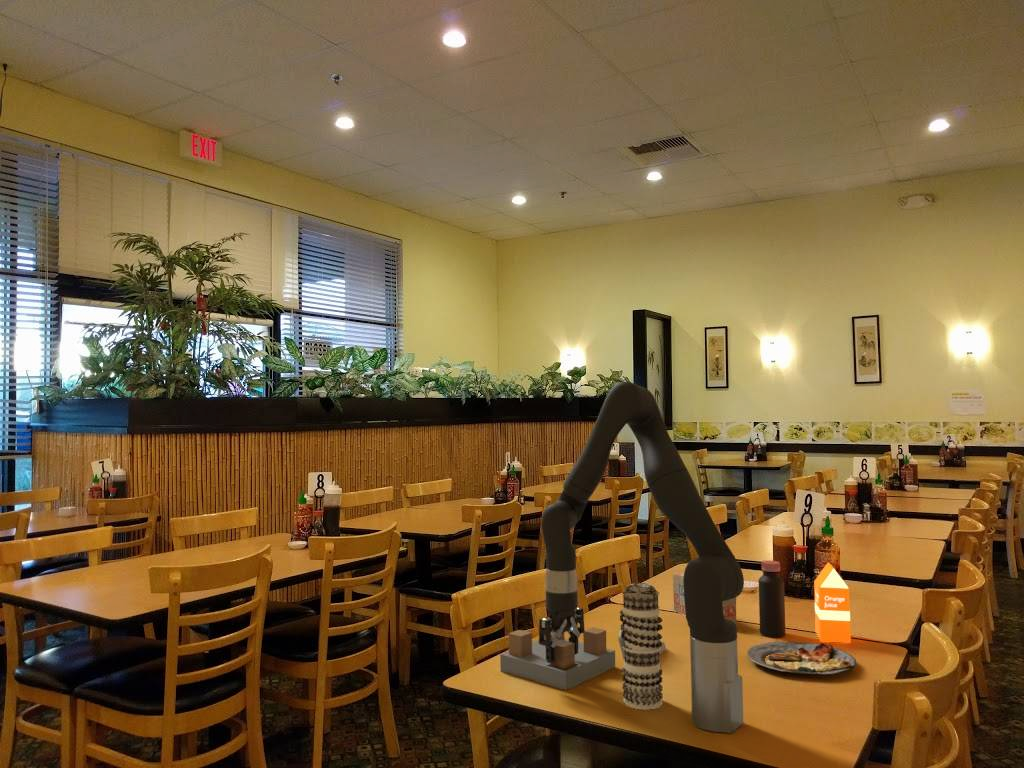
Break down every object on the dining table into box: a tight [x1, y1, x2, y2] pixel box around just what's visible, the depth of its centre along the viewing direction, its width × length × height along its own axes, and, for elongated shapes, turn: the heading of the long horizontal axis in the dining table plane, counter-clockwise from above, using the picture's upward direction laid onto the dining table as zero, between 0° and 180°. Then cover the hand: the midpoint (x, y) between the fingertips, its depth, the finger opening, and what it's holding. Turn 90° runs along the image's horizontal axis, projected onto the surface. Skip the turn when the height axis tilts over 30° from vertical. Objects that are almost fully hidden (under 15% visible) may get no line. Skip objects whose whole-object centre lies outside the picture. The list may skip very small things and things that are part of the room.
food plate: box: [747, 640, 857, 676], centre depth 185 cm, size 25×23×4 cm
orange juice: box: [813, 562, 852, 644], centre depth 205 cm, size 8×9×20 cm
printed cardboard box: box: [672, 571, 737, 625], centre depth 226 cm, size 21×6×12 cm, turn 26°
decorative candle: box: [619, 582, 663, 711], centre depth 162 cm, size 9×9×25 cm
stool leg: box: [551, 640, 575, 671], centre depth 174 cm, size 4×4×9 cm
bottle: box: [758, 560, 786, 639], centre depth 209 cm, size 7×7×20 cm
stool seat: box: [499, 627, 616, 691], centre depth 183 cm, size 20×20×9 cm
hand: (562, 658), depth 174 cm, fingers open, 8 cm apart
